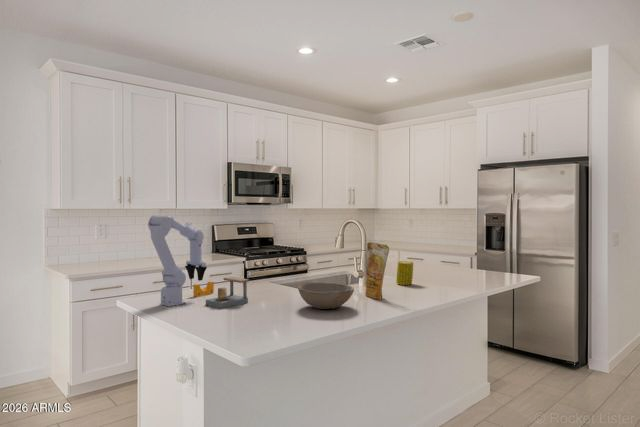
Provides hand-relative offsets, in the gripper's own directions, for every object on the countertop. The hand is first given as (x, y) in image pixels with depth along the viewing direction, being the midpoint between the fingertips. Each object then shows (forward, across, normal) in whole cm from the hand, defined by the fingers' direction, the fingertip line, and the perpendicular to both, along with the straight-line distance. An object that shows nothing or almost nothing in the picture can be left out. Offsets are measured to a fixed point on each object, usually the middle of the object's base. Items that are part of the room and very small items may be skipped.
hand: (195, 279), depth 226 cm
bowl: (+10, -66, -25) cm, 71 cm away
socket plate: (+9, -24, -1) cm, 26 cm away
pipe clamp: (+10, +4, -7) cm, 13 cm away
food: (+10, -65, -103) cm, 122 cm away
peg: (+9, -24, +2) cm, 26 cm away
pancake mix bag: (+10, -71, -60) cm, 93 cm away
